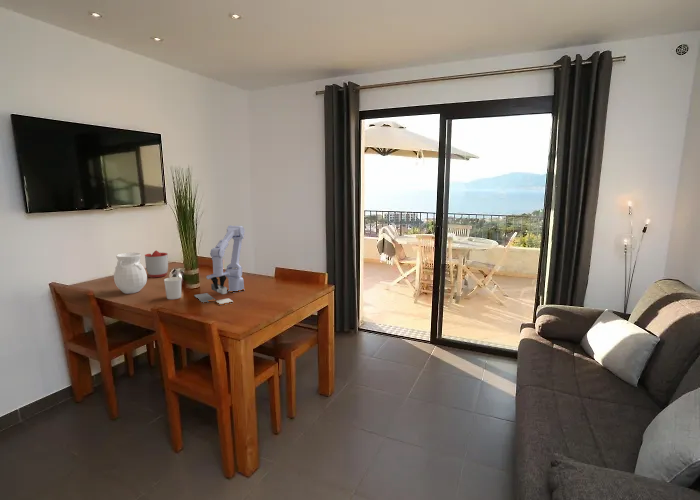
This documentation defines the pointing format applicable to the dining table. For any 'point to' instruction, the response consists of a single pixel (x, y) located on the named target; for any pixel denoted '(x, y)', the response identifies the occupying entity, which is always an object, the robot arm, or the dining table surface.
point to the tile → (224, 301)
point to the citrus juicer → (156, 264)
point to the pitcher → (129, 273)
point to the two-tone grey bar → (219, 289)
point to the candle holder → (173, 287)
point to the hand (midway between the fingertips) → (219, 288)
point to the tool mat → (204, 297)
